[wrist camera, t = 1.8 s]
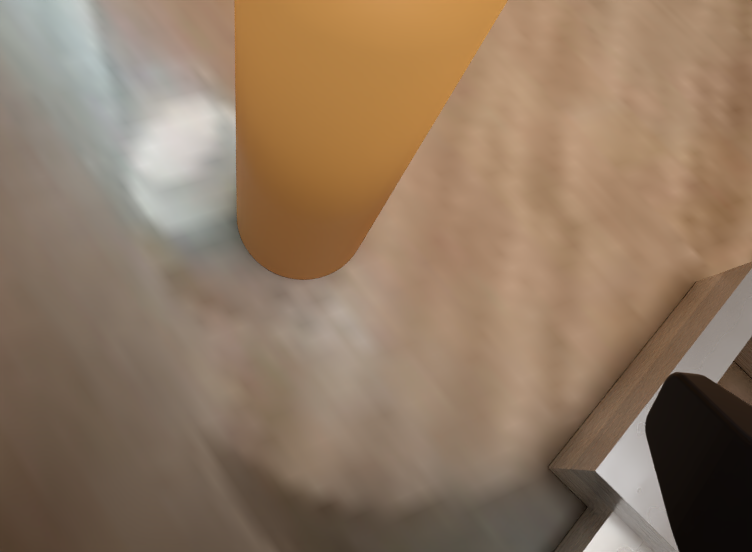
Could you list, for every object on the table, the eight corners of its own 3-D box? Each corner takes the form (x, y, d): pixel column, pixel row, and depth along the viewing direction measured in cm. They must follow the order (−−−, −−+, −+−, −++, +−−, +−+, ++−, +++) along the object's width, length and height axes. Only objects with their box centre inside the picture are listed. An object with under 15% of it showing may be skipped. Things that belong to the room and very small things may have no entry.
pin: (302, 306, 21) (390, 110, 9) (209, 213, 21) (167, -107, 9) (391, 219, 22) (578, -60, 10) (301, 133, 23) (378, -250, 10)
